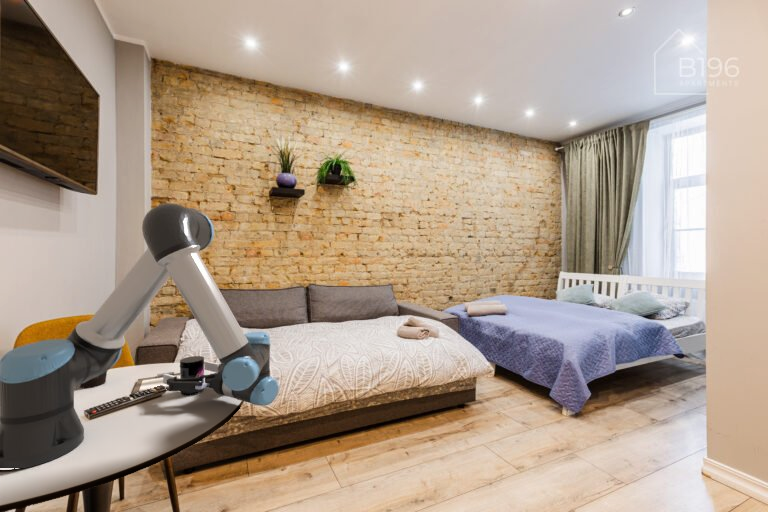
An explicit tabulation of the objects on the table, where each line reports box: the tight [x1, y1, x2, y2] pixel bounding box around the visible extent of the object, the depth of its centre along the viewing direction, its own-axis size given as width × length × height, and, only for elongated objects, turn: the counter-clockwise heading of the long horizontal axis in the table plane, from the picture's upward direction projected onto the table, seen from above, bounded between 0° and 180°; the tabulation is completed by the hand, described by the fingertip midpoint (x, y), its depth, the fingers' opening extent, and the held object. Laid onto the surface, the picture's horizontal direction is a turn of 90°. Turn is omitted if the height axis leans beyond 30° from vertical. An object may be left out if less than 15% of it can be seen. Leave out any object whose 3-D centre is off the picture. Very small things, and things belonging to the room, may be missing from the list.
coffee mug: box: [79, 371, 108, 389], centre depth 114 cm, size 12×9×10 cm
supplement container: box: [179, 355, 205, 397], centre depth 108 cm, size 7×7×10 cm
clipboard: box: [132, 371, 180, 394], centre depth 115 cm, size 14×16×2 cm
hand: (186, 371), depth 110 cm, fingers open, 13 cm apart
